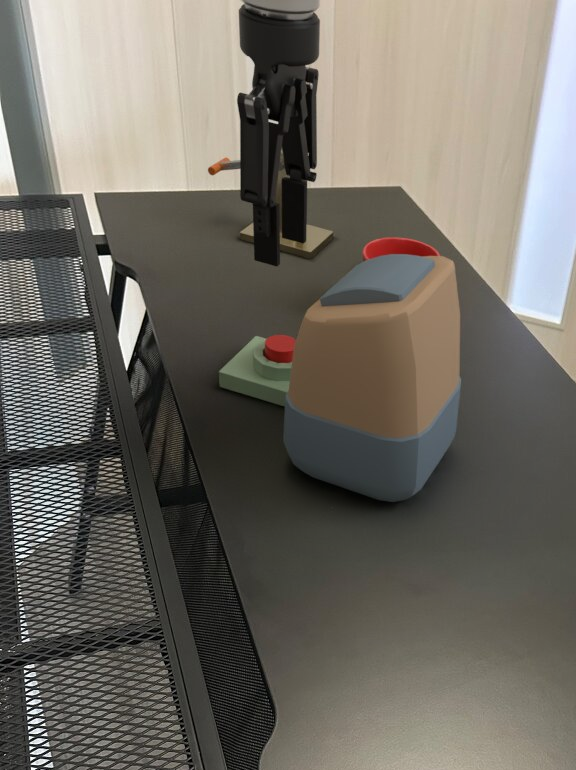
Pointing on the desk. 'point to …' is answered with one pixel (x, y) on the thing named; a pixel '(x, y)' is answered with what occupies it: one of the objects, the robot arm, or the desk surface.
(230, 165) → the switch lever
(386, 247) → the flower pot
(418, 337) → the lidded trash bin
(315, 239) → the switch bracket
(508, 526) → the desk surface
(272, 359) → the button
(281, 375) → the button box
